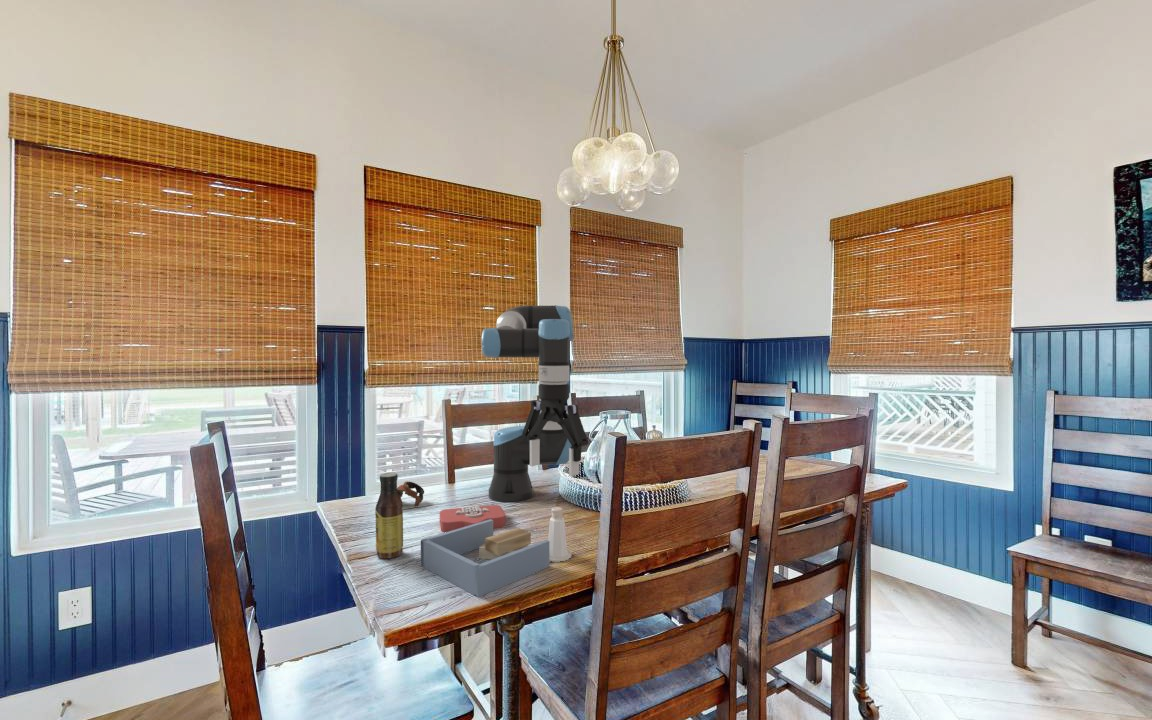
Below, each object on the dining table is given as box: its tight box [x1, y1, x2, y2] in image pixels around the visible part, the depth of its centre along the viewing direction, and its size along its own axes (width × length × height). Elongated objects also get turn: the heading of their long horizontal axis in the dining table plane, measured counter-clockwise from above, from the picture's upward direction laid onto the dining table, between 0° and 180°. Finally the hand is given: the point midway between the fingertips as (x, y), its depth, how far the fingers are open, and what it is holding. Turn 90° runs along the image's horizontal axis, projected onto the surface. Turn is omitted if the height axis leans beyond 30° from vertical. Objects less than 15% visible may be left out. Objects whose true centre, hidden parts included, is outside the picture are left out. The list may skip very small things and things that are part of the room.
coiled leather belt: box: [397, 480, 425, 507], centre depth 164 cm, size 12×9×8 cm
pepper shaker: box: [547, 506, 568, 558], centre depth 125 cm, size 5×5×11 cm
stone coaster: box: [549, 549, 573, 563], centre depth 125 cm, size 7×7×1 cm
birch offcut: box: [478, 543, 531, 561], centre depth 124 cm, size 5×13×3 cm, turn 73°
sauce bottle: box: [374, 471, 404, 559], centre depth 125 cm, size 7×6×20 cm
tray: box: [420, 519, 550, 598], centre depth 119 cm, size 20×22×6 cm
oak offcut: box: [485, 527, 532, 555], centre depth 124 cm, size 5×10×3 cm, turn 135°
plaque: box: [439, 504, 506, 533], centre depth 147 cm, size 18×4×15 cm
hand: (553, 470), depth 126 cm, fingers open, 13 cm apart
